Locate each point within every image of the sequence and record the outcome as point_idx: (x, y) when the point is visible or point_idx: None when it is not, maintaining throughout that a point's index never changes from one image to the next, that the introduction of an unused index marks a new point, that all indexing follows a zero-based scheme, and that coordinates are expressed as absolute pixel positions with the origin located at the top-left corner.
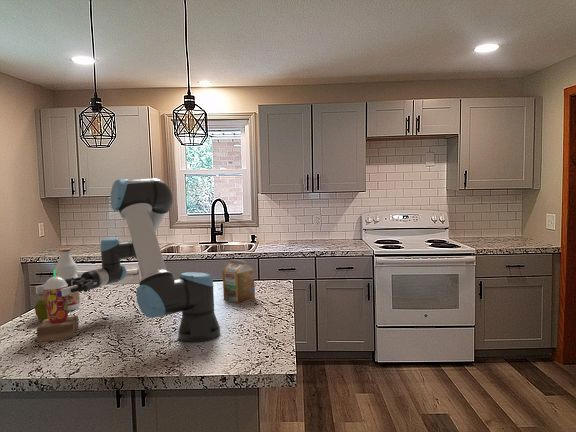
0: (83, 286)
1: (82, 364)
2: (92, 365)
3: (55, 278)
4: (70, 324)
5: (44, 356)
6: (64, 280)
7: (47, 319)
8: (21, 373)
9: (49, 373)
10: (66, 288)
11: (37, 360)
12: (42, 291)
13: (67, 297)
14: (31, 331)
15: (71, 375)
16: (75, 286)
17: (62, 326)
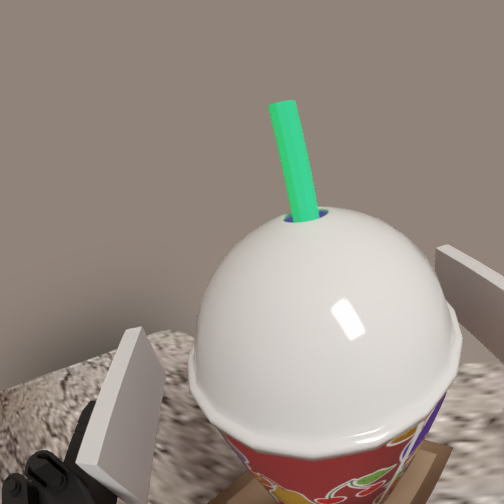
0: (29, 482)
1: (65, 401)
2: (48, 403)
3: (251, 232)
4: (221, 501)
5: (176, 397)
6: (235, 350)
7: (425, 456)
8: (152, 345)
9: (103, 363)
10: (116, 355)
11: (172, 380)
12: (460, 314)
13: (262, 484)
14: (481, 430)
15: (65, 372)
16: (89, 444)
17: (243, 475)
